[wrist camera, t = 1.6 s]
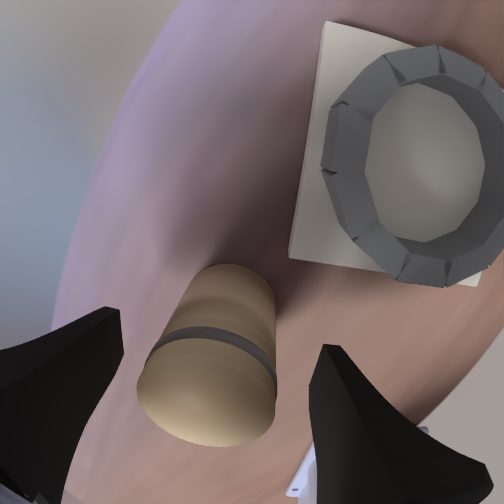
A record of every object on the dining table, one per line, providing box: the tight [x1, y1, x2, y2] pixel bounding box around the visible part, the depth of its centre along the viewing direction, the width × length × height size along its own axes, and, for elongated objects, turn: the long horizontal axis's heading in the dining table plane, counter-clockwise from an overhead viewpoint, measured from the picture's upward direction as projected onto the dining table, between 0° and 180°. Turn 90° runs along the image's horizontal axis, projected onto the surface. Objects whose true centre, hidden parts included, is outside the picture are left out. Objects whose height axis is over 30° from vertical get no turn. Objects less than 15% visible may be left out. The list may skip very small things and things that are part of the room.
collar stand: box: [288, 21, 504, 288], centre depth 9 cm, size 9×9×3 cm
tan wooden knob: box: [137, 264, 277, 447], centre depth 11 cm, size 4×4×6 cm
